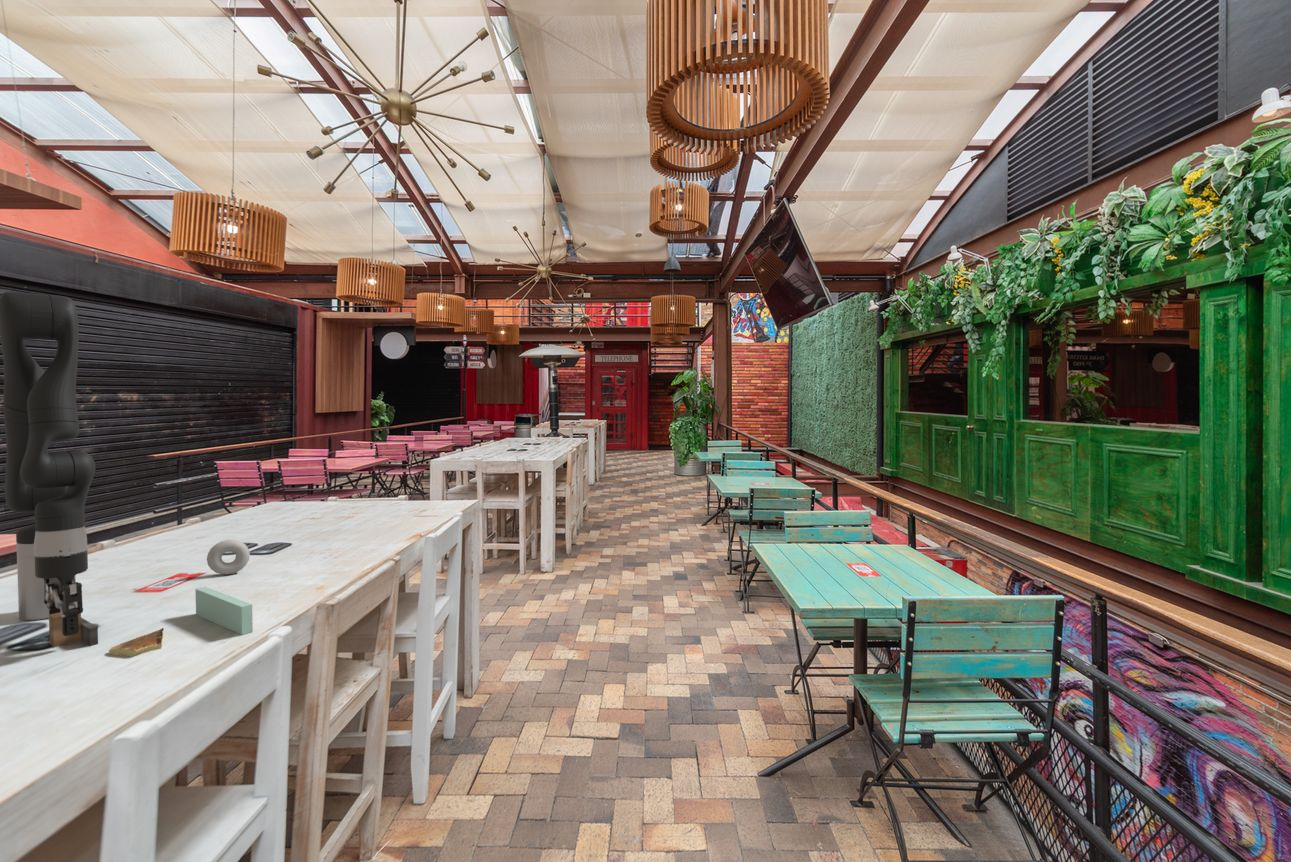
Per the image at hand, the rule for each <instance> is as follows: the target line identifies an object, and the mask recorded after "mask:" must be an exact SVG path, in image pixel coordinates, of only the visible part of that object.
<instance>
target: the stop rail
mask: <svg viewBox="0 0 1291 862" xmlns="http://www.w3.org/2000/svg"><path fill="white" fill-rule="evenodd" d="M195 615H196V616H198V617H201V618H203V619H205V620H208V621H210V622H212V623H215V624H216V625H218V626H221V627H223V628H226V629H228V630H230V631H232V632H234V633H237V634H239V635H242V636H243V635H247V634H251V633H253V632H254V631H253V630H254V629H253V628H254V627H253V604H252V603H249V602H247V601H245V600H241V599H239V598H236V597H233V596H231V595H229V594H226V593H223V592H220V591H218V590H215V589H213V588H211V587H207V586H202V587H199V588H198V587H197V588H195Z"/></svg>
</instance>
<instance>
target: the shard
mask: <svg viewBox="0 0 1291 862" xmlns="http://www.w3.org/2000/svg"><path fill="white" fill-rule="evenodd" d="M163 638H164V627H162V628H161V629H158V630H155V631H152V632H150V633H147V634H144V635H141V636H137V637H135V638H132V639H131V640H127V641H125V642H122V643H120V644H118V645H116V646H113V647H111V648H110V649H109V650H108V654H109V655H113V656H116V655H117V656H124V657H125V656H126V657H130V658H132V657H135V656H137V655H140V654H144V653H148V652H151V651H152V652H153V651H157V650H161V649H162V647H163Z"/></svg>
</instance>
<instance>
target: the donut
mask: <svg viewBox="0 0 1291 862" xmlns="http://www.w3.org/2000/svg"><path fill="white" fill-rule="evenodd" d="M227 552H232V553H233V554H234V555H235V558H234V559H233V561H231V562H225V561H224V560H223V558H222V557H223V555H224V554H225V553H227ZM250 556H251V554H250V549H249V547H248V546H247V545H246V544H245V543H243V542H242V541H241V540H238V539H237V540H236V539H225V540H221V541H219V542H218V543H215V544H214V545H213V546H212V547H211V548H210V549H209V551H208V552H207V556H206V562H207V565H208V568H210V570H211V571H213V572H214V573H216V574H219V575H227V576H228V575H231V574H232V575H233V574H236V573H238V572H240V571H242V570H243V569H244V568H245V567H247V565H248V562H249V561H250V558H251V557H250Z"/></svg>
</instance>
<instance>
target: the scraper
mask: <svg viewBox="0 0 1291 862" xmlns="http://www.w3.org/2000/svg"><path fill="white" fill-rule="evenodd" d="M78 627H79V631H78V633H76V634H73V635H69V636H64V635H63V634H62V616H61V612H60V613H55V614H51V615H49V618H48V629H49V645H50V646H51V647H53V648H58V647H62V646H66V645H70V644H74V643H78V642H83V643H84V644H86V645H87V646H89V647H92V646H97V645H98V644H99V629H98V626H96V625H95V624H93V623H91V622H90V621H89V620H87V619H84V618H83V617H82V613H80V614H78Z"/></svg>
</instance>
